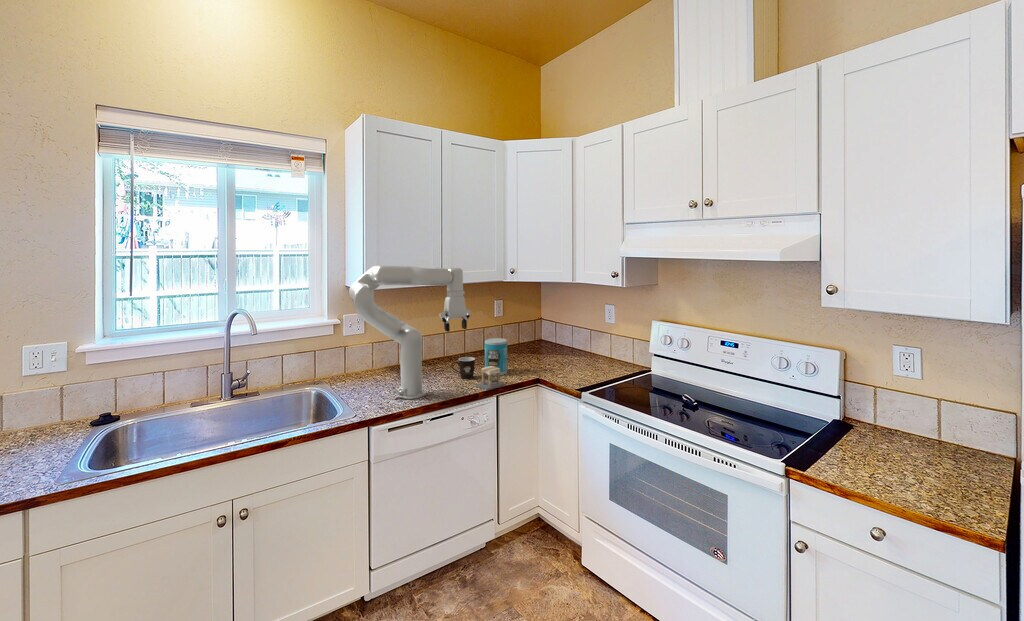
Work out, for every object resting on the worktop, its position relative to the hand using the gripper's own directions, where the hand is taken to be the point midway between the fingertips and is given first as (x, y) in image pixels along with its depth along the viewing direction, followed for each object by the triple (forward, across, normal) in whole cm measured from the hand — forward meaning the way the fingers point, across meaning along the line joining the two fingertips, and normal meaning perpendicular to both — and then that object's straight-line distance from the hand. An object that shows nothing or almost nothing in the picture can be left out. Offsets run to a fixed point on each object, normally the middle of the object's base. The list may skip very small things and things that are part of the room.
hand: (455, 329), depth 214 cm
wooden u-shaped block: (+28, -14, +9) cm, 32 cm away
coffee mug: (+28, -12, -11) cm, 33 cm away
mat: (+28, -14, +9) cm, 33 cm away
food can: (+28, -30, -7) cm, 42 cm away
